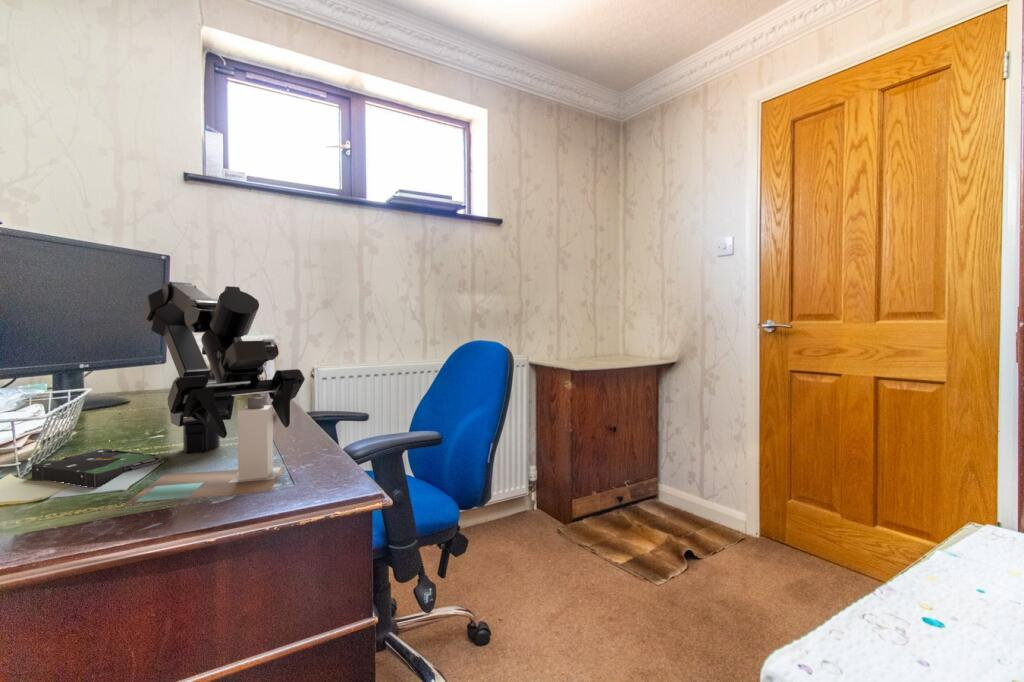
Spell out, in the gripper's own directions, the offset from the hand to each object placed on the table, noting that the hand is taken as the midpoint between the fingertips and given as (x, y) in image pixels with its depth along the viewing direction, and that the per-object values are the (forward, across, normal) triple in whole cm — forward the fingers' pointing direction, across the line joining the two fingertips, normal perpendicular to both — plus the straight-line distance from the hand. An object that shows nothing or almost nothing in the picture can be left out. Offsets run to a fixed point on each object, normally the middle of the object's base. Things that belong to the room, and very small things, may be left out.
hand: (257, 430), depth 70 cm
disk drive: (-11, -14, +24) cm, 30 cm away
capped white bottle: (+4, 0, +5) cm, 7 cm away
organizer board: (+5, -6, +7) cm, 10 cm away
